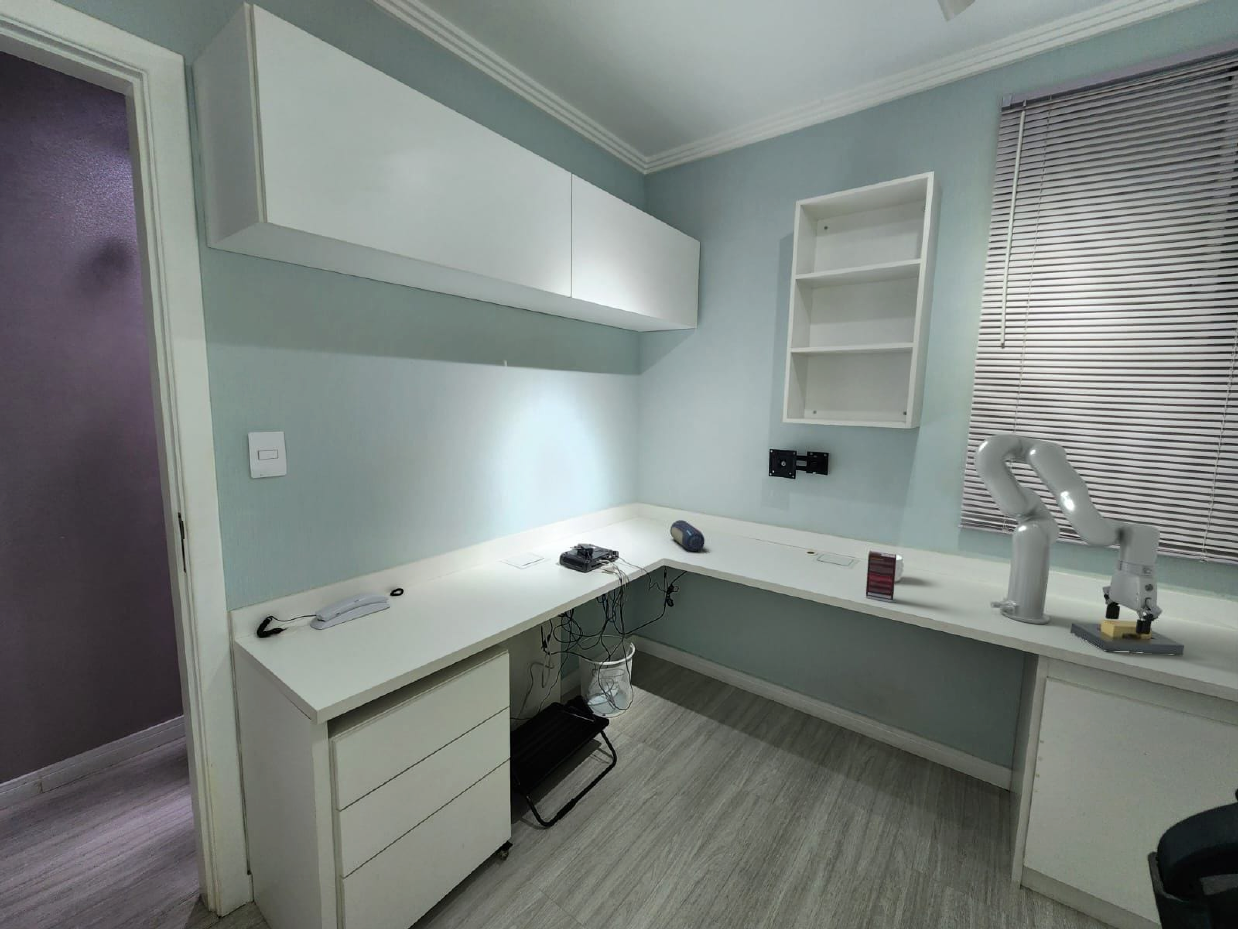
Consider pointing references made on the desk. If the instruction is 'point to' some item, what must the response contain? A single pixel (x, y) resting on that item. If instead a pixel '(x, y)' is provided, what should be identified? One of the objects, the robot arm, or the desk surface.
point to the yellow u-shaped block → (1122, 628)
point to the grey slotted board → (1126, 641)
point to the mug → (898, 567)
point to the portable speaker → (687, 535)
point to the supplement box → (881, 576)
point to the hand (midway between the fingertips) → (1126, 626)
